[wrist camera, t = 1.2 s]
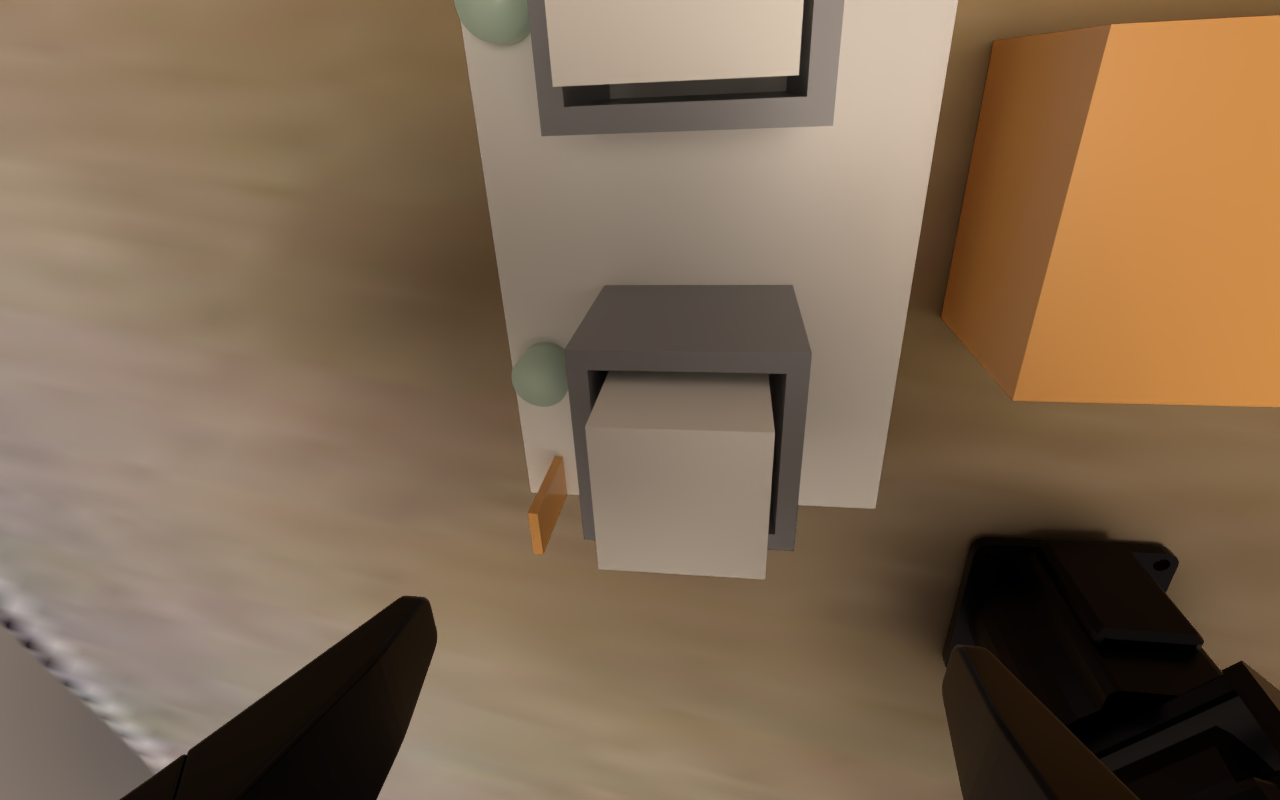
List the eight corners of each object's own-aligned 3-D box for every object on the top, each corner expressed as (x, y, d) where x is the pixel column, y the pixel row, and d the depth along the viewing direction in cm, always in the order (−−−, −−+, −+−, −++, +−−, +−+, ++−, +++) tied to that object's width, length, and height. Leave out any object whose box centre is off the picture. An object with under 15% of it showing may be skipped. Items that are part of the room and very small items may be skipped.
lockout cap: (1209, 319, 18) (1386, 409, 13) (941, 317, 19) (1012, 400, 14) (1327, 23, 14) (1623, -4, 10) (993, 40, 15) (1111, 24, 11)
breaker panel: (868, 487, 22) (913, 624, 16) (540, 474, 24) (481, 593, 18) (991, -311, 13) (1182, -600, 7) (441, -242, 14) (263, -436, 9)
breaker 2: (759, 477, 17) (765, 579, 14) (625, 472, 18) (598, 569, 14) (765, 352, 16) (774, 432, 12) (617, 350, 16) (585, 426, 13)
